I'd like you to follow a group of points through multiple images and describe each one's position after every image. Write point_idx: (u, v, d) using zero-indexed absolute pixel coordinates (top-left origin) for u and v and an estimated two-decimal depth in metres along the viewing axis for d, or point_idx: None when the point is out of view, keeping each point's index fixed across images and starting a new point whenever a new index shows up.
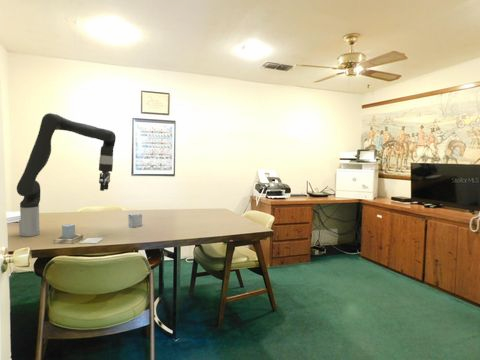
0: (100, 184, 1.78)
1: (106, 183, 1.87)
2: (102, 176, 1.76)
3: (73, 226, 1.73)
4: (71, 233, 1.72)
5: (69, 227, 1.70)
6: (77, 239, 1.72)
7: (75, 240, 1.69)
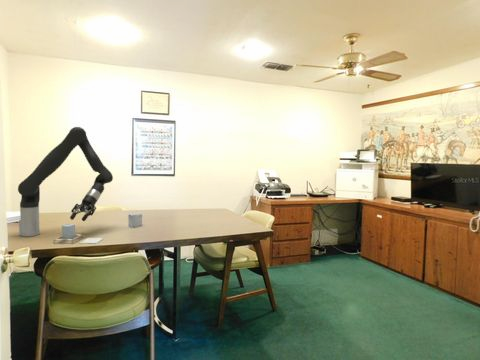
0: (85, 214, 1.78)
1: (75, 213, 1.82)
2: (94, 209, 1.81)
3: (73, 226, 1.73)
4: (71, 233, 1.72)
5: (69, 227, 1.70)
6: (77, 239, 1.72)
7: (75, 240, 1.69)
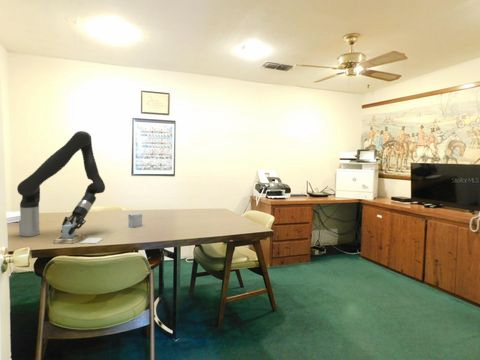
0: (72, 227, 1.71)
1: None
2: (82, 222, 1.74)
3: None
4: None
5: (69, 227, 1.70)
6: (77, 239, 1.72)
7: (75, 240, 1.69)
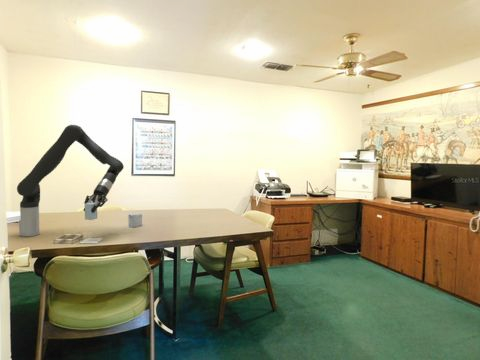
0: None
1: None
2: (105, 201, 1.74)
3: None
4: None
5: (92, 205, 1.70)
6: (77, 239, 1.72)
7: (75, 240, 1.69)
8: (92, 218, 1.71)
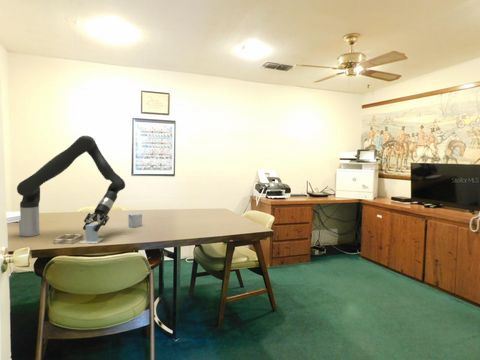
0: (98, 224, 1.72)
1: (88, 224, 1.75)
2: (107, 219, 1.75)
3: None
4: (94, 232, 1.73)
5: (93, 227, 1.71)
6: (77, 239, 1.72)
7: (75, 240, 1.69)
8: (93, 240, 1.72)
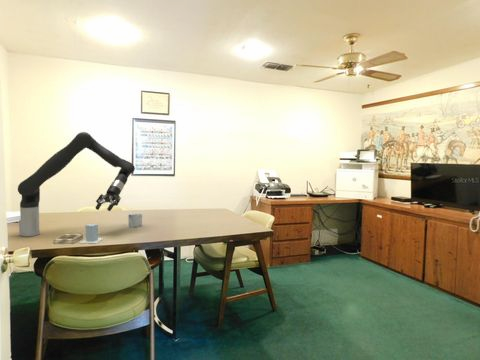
0: (111, 204, 1.80)
1: (100, 204, 1.84)
2: (119, 199, 1.84)
3: (96, 226, 1.74)
4: (94, 232, 1.73)
5: (93, 227, 1.71)
6: (77, 239, 1.72)
7: (75, 240, 1.69)
8: (93, 240, 1.72)
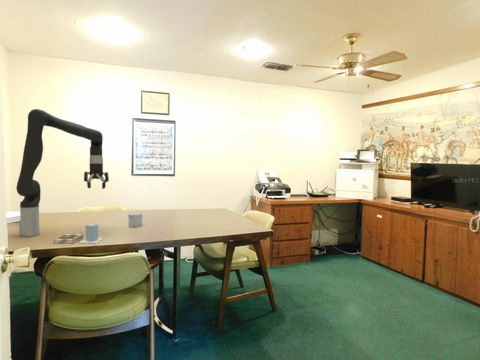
0: (103, 183, 1.89)
1: (89, 182, 1.90)
2: (107, 175, 1.90)
3: (96, 226, 1.74)
4: (94, 232, 1.73)
5: (93, 227, 1.71)
6: (77, 239, 1.72)
7: (75, 240, 1.69)
8: (93, 240, 1.72)
